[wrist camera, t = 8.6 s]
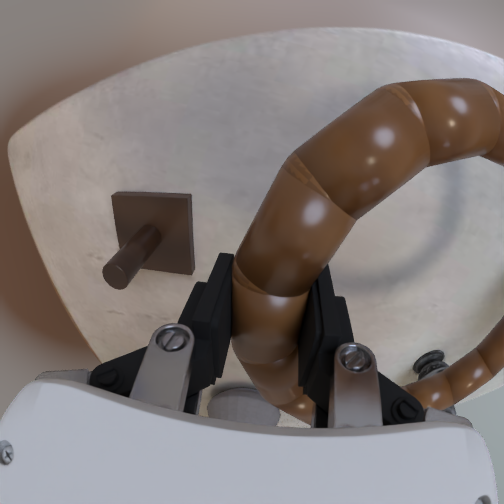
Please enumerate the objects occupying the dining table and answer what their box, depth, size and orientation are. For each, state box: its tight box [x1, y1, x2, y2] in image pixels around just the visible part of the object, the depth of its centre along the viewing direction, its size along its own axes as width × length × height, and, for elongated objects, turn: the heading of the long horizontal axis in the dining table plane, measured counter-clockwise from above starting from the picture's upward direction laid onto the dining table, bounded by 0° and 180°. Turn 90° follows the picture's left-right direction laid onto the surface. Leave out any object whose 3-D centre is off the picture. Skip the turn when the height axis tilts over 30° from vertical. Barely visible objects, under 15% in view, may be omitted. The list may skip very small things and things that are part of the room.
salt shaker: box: [413, 350, 456, 415], centre depth 27 cm, size 6×6×12 cm
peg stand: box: [102, 192, 195, 290], centre depth 23 cm, size 8×8×8 cm
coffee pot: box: [207, 388, 281, 426], centre depth 33 cm, size 21×12×15 cm, turn 95°
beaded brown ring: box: [231, 78, 504, 425], centre depth 10 cm, size 20×20×3 cm
